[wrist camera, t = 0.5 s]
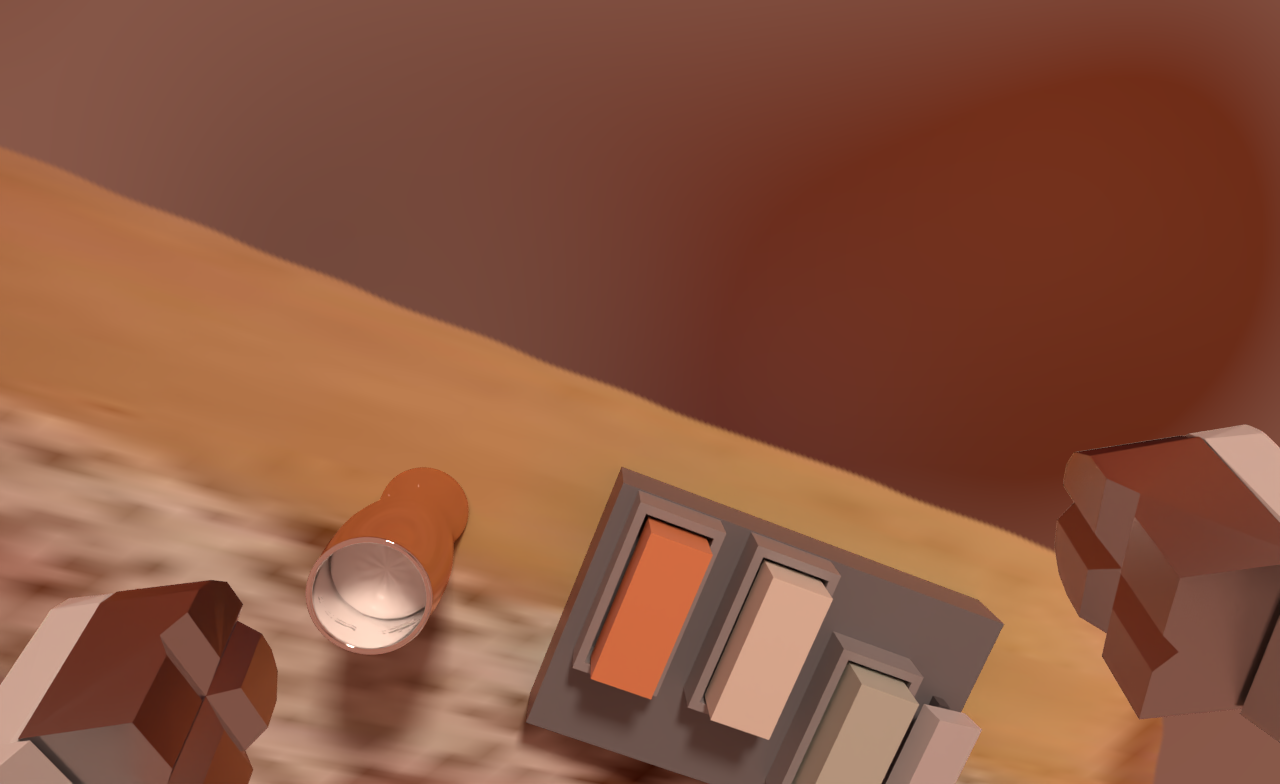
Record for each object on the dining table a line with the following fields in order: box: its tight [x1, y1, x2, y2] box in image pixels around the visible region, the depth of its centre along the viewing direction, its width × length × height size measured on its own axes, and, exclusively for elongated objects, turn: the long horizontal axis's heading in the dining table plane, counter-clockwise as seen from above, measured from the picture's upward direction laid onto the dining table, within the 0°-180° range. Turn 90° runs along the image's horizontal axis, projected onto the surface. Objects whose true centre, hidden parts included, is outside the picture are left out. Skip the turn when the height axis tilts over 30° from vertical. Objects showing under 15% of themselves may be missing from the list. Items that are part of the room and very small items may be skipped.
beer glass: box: [306, 467, 469, 655], centre depth 53 cm, size 7×7×15 cm
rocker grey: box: [886, 704, 982, 784], centre depth 58 cm, size 4×8×2 cm, turn 159°
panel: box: [526, 467, 1004, 784], centre depth 60 cm, size 28×18×7 cm, turn 68°
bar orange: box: [591, 517, 713, 699], centre depth 54 cm, size 4×10×3 cm, turn 158°
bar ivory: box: [705, 560, 833, 740], centre depth 55 cm, size 4×10×3 cm, turn 158°
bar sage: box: [792, 661, 919, 784], centre depth 56 cm, size 4×10×3 cm, turn 158°
